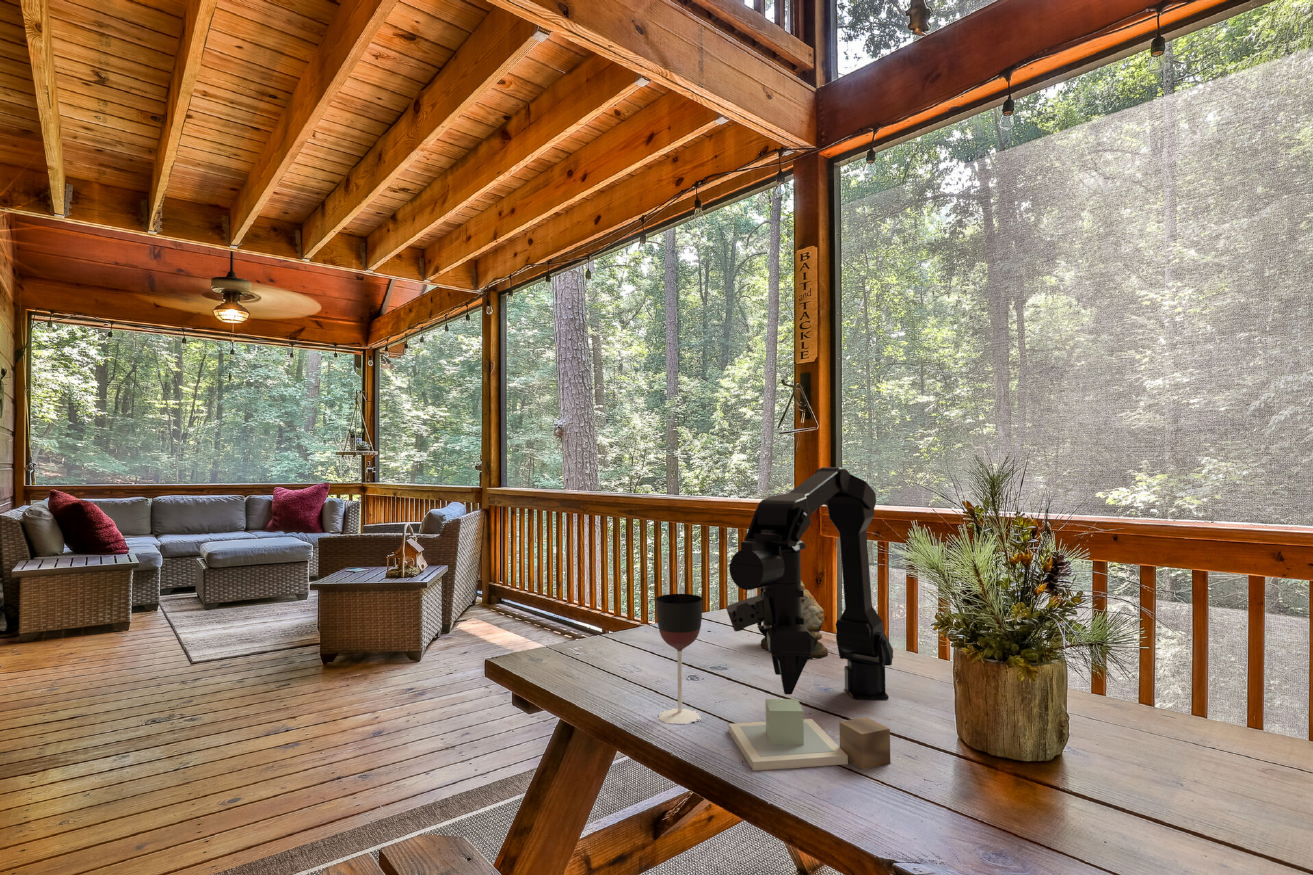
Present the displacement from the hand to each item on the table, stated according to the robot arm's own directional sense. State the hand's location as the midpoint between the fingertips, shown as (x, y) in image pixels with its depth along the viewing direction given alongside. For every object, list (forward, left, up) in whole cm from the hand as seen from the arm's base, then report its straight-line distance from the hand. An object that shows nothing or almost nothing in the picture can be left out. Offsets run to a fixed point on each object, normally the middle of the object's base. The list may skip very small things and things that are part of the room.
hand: (783, 683), depth 101 cm
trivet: (0, 0, -10) cm, 10 cm away
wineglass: (+16, -12, -10) cm, 22 cm away
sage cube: (0, 0, -8) cm, 8 cm away
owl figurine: (-10, -54, -10) cm, 56 cm away
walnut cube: (-11, +4, -10) cm, 15 cm away
